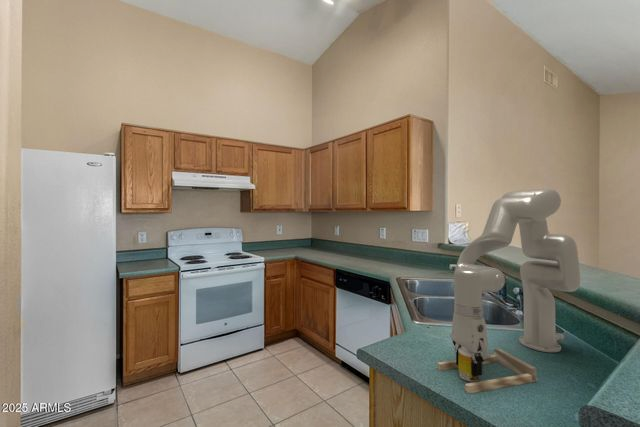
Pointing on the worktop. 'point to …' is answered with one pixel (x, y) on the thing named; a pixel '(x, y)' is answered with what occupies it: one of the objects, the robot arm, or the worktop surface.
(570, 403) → the worktop surface
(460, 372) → the supplement bottle
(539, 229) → the robot arm
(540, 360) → the worktop surface
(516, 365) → the wooden frame
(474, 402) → the worktop surface
